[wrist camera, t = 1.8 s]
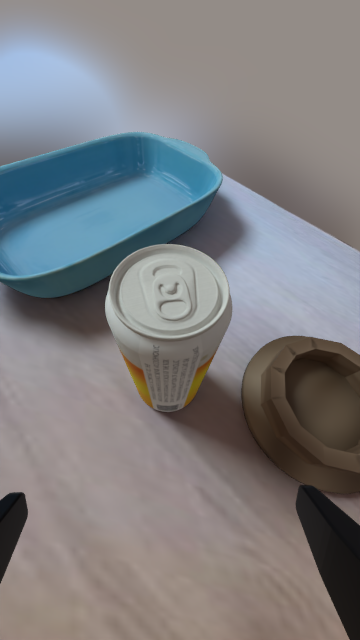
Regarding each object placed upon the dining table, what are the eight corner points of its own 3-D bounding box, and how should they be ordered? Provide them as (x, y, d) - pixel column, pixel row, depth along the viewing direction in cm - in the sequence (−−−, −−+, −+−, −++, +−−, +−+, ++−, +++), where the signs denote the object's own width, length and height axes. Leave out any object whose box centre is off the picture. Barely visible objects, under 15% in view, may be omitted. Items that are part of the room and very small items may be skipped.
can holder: (404, 398, 23) (439, 390, 20) (357, 538, 17) (397, 556, 14) (282, 318, 27) (297, 301, 24) (213, 408, 22) (220, 400, 19)
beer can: (191, 349, 25) (219, 234, 12) (203, 407, 22) (257, 338, 9) (135, 356, 24) (100, 242, 11) (139, 418, 21) (96, 358, 8)
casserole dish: (152, 162, 46) (150, 117, 40) (238, 215, 38) (252, 169, 32) (-51, 243, 31) (-104, 192, 25) (22, 354, 24) (-28, 318, 18)
